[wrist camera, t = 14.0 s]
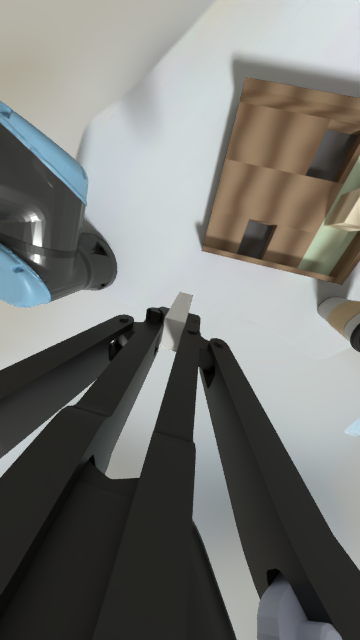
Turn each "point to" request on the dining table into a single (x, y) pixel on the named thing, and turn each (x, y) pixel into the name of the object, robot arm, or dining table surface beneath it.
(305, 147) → the box
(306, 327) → the dining table surface
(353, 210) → the birch block
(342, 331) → the coffee cup
